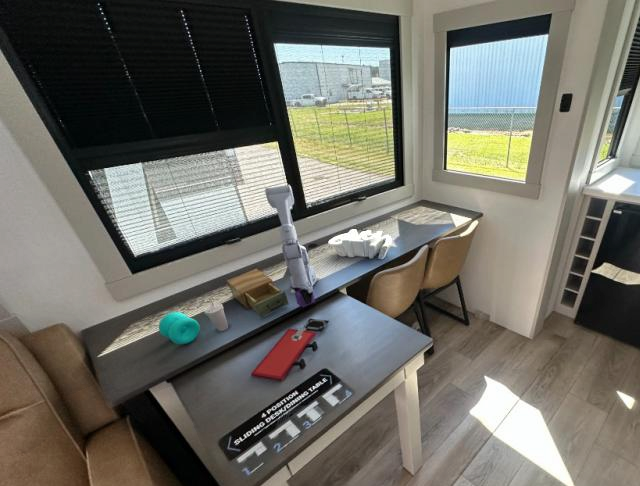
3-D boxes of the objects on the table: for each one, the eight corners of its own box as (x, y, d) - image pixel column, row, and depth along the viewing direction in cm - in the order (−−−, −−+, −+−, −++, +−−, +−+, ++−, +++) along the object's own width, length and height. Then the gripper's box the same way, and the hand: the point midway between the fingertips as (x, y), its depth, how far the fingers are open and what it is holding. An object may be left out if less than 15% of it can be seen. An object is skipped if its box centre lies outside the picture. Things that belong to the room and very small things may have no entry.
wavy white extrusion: (398, 249, 171) (397, 231, 165) (388, 263, 158) (386, 244, 152) (342, 244, 182) (338, 227, 176) (327, 257, 169) (323, 238, 163)
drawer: (294, 308, 129) (290, 295, 125) (265, 322, 122) (260, 309, 118) (272, 292, 140) (268, 280, 137) (245, 304, 133) (240, 292, 130)
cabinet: (277, 295, 140) (272, 279, 135) (247, 309, 132) (240, 292, 127) (261, 283, 149) (256, 268, 145) (233, 295, 141) (226, 280, 137)
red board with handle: (334, 323, 120) (299, 319, 124) (332, 317, 118) (297, 313, 122) (293, 384, 96) (252, 376, 100) (290, 377, 95) (249, 370, 99)
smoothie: (235, 324, 123) (222, 294, 116) (223, 334, 119) (208, 304, 111) (222, 322, 125) (208, 292, 118) (210, 332, 120) (194, 302, 113)
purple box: (315, 301, 132) (312, 290, 128) (302, 307, 128) (299, 296, 125) (309, 297, 134) (306, 286, 131) (297, 303, 131) (293, 292, 128)
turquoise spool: (179, 350, 112) (165, 329, 107) (165, 341, 117) (151, 320, 111) (205, 334, 119) (194, 313, 114) (191, 326, 124) (180, 306, 118)
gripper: (279, 270, 125) (288, 298, 133) (298, 282, 117) (306, 312, 124) (295, 264, 129) (303, 291, 137) (314, 275, 121) (321, 304, 128)
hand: (305, 301), depth 131 cm, fingers closed on purple box, 4 cm apart
